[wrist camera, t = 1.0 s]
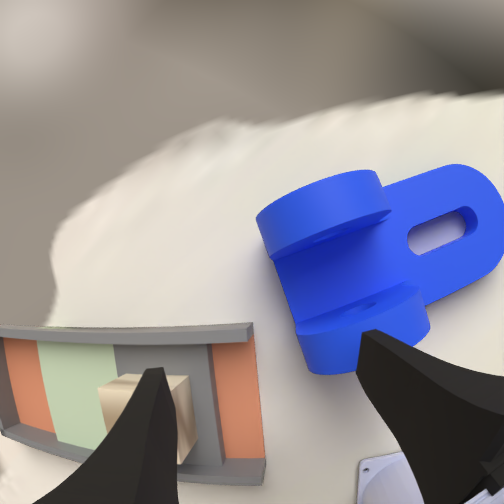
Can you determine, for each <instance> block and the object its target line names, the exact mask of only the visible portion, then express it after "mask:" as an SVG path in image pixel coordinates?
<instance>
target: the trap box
mask: <svg viewBox="0 0 504 504" xmlns="http://www.w3.org/2000/svg"><path fill="white" fill-rule="evenodd" d="M158 367H164V371H165V374H166V375H189V380H190V387H191V394H192V401H193V408H194V415H195V421H196V427H197V434H198V439H197V441H196V442H195V444H194V446H193V447H192V449H191V450H190V452H189V453H188V455H187V456H186V458H185V459H184V461H183V462H182V464H177V481H180V482H190V483H202V484H217V485H262V483H263V478H264V472H265V467H266V461H265V450H264V440H263V430H262V419H261V408H260V398H259V387H258V376H257V366H256V355H255V344H254V333H253V322H250V323H235V324H219V325H200V326H175V327H134V328H83V327H44V326H21V325H4V324H0V431H1V434H2V435H3V436H5V437H8V438H10V439H12V440H15V441H17V442H20V443H22V444H25V445H28V446H30V447H33V448H36V449H39V450H42V451H44V452H47V453H50V454H53V455H57V456H60V457H63V458H66V459H70V460H73V461H77V462H80V463H84V462H85V461H86V460H87V458H88V457H89V456H90V455H91V454H92V453H93V452H94V451H95V449H96V448H97V447H98V446H99V445H100V443H101V442H102V441H103V439H104V438H105V437H106V435H107V431H106V426H105V422H104V418H103V413H102V409H101V404H100V399H99V394H98V389H97V388H99V387H101V386H103V385H105V384H107V383H109V382H111V381H112V380H114V379H116V378H118V377H120V376H122V375H124V374H143V372H144V371H145V370H146V369H147V368H158Z"/></svg>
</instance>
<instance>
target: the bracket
mask: <svg viewBox="0 0 504 504" xmlns="http://www.w3.org/2000/svg"><path fill="white" fill-rule="evenodd" d="M451 211H456V212H458V213H460V214H461V215H462V216H463V218H464V220H465V223H466V230H465V233H464V235H463V236H462V237H460V238H458V239H456V240H454V241H451V242H449V243H447V244H445V245H442V246H440V247H438V248H436V249H433V250H431V251H429V252H426V253H424V254H422V255H419V256H418V255H416V254H414V253H413V252H412V251H411V250H410V248H409V246H408V243H407V235H408V232H409V230H410V229H411V228H412V227H414V226H417V225H419V224H422V223H424V222H427V221H429V220H432V219H434V218H437V217H439V216H441V215H444V214H446V213H449V212H451ZM256 222H257V224H258V227H259V230H260V233H261V235H262V238H263V241H264V244H265V247H266V249H267V252H268V255H269V258H270V259H271V260H273V261H274V264H275V267H276V270H277V273H278V276H279V278H280V281H281V284H282V287H283V290H284V292H285V295H286V298H287V301H288V304H289V307H290V310H291V312H292V315H293V318H294V321H295V325H296V334H297V337H298V340H299V343H300V346H301V349H302V352H303V355H304V358H305V361H306V363H307V366H308V369H309V371H310V372H312V373H315V374H320V375H333V374H342V373H348V372H352V371H356V369H357V362H358V356H359V349H360V341H361V334H362V332H365V331H369V330H373V329H377V330H380V331H382V332H384V333H386V334H388V335H390V336H392V337H394V338H396V339H398V340H400V341H402V342H404V343H406V344H408V345H410V346H412V347H413V346H414V345H416V344H417V343H418V342H420V341H421V340H422V339H423V338H424V337H425V336H426V335H427V333H428V332H429V330H430V323H429V320H428V316H427V312H426V309H425V306H426V305H428V304H430V303H432V302H434V301H436V300H438V299H440V298H443V297H445V296H447V295H449V294H451V293H453V292H455V291H457V290H459V289H461V288H463V287H465V286H467V285H468V284H470V283H472V282H474V281H476V280H478V279H480V278H482V277H484V276H485V275H487V274H488V273H490V272H491V271H492V270H493V269H494V268H495V267H496V266H497V264H498V263H499V261H500V260H501V258H502V256H503V254H504V203H503V201H502V199H501V196H500V194H499V193H498V191H497V189H496V188H495V186H494V185H493V184H492V183H491V181H490V180H489V179H488V178H487V177H486V176H484V175H483V174H482V173H480V172H479V171H477V170H476V169H474V168H471V167H469V166H466V165H461V164H451V165H446V166H443V167H440V168H437V169H434V170H431V171H428V172H425V173H422V174H419V175H417V176H414V177H411V178H408V179H405V180H402V181H399V182H396V183H393V184H391V185H388V186H385V187H382V186H381V183H380V181H379V179H378V176H377V174H376V172H375V171H372V170H357V171H351V172H346V173H342V174H338V175H334V176H331V177H328V178H325V179H322V180H319V181H316V182H314V183H311V184H309V185H306V186H304V187H302V188H299V189H297V190H295V191H293V192H291V193H289V194H287V195H285V196H283V197H281V198H279V199H278V200H276V201H274V202H273V203H271V204H270V205H268V206H267V207H265V208H264V209H263V210H262V211H261V212H260V213H259V214H258V215H257V217H256Z"/></svg>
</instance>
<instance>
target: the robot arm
mask: <svg viewBox="0 0 504 504" xmlns="http://www.w3.org/2000/svg"><path fill="white" fill-rule="evenodd" d="M356 375H357V377H358V379H359V381H360V383H361V385H362V387H363V389H364V391H365V393H366V395H367V397H368V398H369V400H370V401H371V403H372V404H373V405H374V407H375V408H376V410H377V411H378V413H379V414H380V416H381V417H382V419H383V420H384V422H385V423H386V424H387V426H388V427H389V429H390V430H391V432H392V433H393V435H394V436H395V438H396V440H397V441H398V443H399V445H400V447H401V449H402V451H403V452H398V453H394V454H389V455H384V456H379V457H373V458H367V459H364V460H362V461H361V462H360V464H359V479H358V493H357V504H504V376H497V375H491V374H486V373H481V372H477V371H473V370H469V369H466V368H463V367H460V366H456V365H453V364H451V363H448V362H445V361H443V360H440V359H438V358H436V357H433V356H431V355H429V354H427V353H424V352H422V351H420V350H418V349H416V348H414V347H412V346H410V345H408V344H406V343H404V342H402V341H400V340H398V339H396V338H394V337H392V336H390V335H388V334H386V333H384V332H382V331H380V330H377V329H373V330H369V331H365V332H362V334H361V341H360V349H359V356H358V362H357V369H356ZM177 446H178V429H177V418H176V407H175V404H174V401H173V398H172V394H171V391H170V388H169V385H168V381H167V378H166V374H165V371H164V367H158V368H147V369H146V370H145V371H144V372H143V374H142V376H141V378H140V380H139V382H138V384H137V386H136V388H135V390H134V392H133V394H132V396H131V398H130V399H129V401H128V403H127V404H126V406H125V408H124V410H123V411H122V413H121V415H120V416H119V418H118V419H117V421H116V422H115V424H114V425H113V427H112V428H111V430H110V431H109V433H108V434H107V435H106V437H105V438H104V439H103V441H102V442H101V443H100V445H99V446H98V447H97V448H96V449H95V451H94V452H93V453H92V454H91V455H90V456H89V457H88V458H87V460H86V461H85V462H84V463H83V464H82V465H81V466H80V467H79V468H78V469H77V470H76V471H75V472H74V473H73V474H71V475H70V476H69V477H68V478H67V479H66V480H65V481H63V482H62V483H61V484H60V485H59V486H57V487H56V488H55V489H53V490H52V491H51V492H49V493H48V494H46V495H45V496H43V497H42V498H40V499H39V500H37V501H36V502H34V503H33V504H179V501H178V492H177ZM365 468H368V469H367V470H366V471H363V470H364V469H365Z"/></svg>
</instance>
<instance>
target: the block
mask: <svg viewBox="0 0 504 504" xmlns="http://www.w3.org/2000/svg"><path fill="white" fill-rule="evenodd" d="M141 376H142V374H124V375H122V376H120V377H118V378H116V379H114V380H112V381H111V382H109V383H107V384H105V385H103V386H101V387H99V388H97V389H98V394H99V399H100V404H101V409H102V413H103V418H104V422H105V426H106V431H107V434H108V433H109V431H110V430H111V428H112V427H113V425H114V424H115V422H116V421H117V419H118V418H119V416H120V415H121V413H122V411H123V410H124V408H125V406H126V404H127V403H128V401H129V399H130V398H131V396H132V394H133V392H134V390H135V388H136V386H137V384H138V382H139V380H140V378H141ZM166 378H167V381H168V385H169V388H170V391H171V394H172V398H173V401H174V404H175V407H176V418H177V429H178V446H177V464H182V462H183V461H184V459H185V458H186V456H187V455H188V453H189V452H190V450H191V449H192V447H193V446H194V444H195V442H196V441H197V439H198V434H197V427H196V421H195V415H194V408H193V401H192V394H191V387H190V380H189V375H166Z"/></svg>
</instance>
